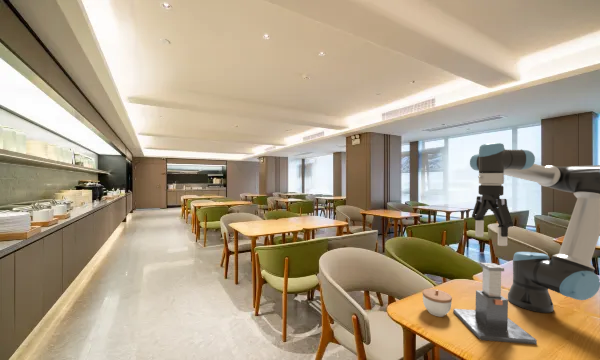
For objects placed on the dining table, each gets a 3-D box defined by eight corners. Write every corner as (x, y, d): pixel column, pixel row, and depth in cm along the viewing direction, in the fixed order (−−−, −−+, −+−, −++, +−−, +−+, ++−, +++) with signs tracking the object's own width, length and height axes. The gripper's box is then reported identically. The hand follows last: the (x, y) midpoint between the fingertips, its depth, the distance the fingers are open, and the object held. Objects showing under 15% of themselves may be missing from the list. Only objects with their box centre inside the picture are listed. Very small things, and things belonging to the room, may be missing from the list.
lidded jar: (456, 321, 98) (456, 297, 98) (426, 318, 100) (426, 294, 100) (445, 307, 108) (446, 286, 108) (419, 304, 110) (419, 283, 110)
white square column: (493, 318, 97) (494, 263, 97) (503, 325, 92) (504, 268, 91) (479, 317, 97) (480, 262, 97) (487, 324, 92) (488, 267, 92)
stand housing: (499, 315, 102) (500, 286, 102) (536, 344, 85) (537, 308, 85) (453, 312, 104) (454, 283, 104) (479, 339, 86) (480, 305, 86)
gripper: (462, 183, 107) (462, 233, 108) (502, 185, 83) (501, 249, 83) (481, 184, 106) (481, 233, 107) (527, 185, 82) (526, 250, 82)
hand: (490, 240), depth 95 cm, fingers open, 13 cm apart
